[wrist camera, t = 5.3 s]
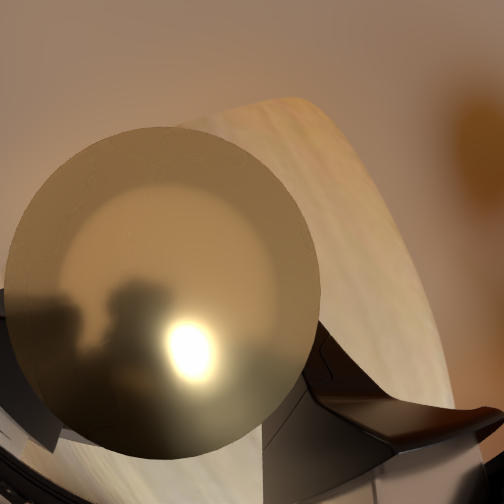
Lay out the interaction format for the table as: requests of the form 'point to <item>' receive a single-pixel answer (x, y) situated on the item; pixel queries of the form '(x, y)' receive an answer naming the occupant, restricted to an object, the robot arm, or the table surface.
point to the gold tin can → (162, 293)
